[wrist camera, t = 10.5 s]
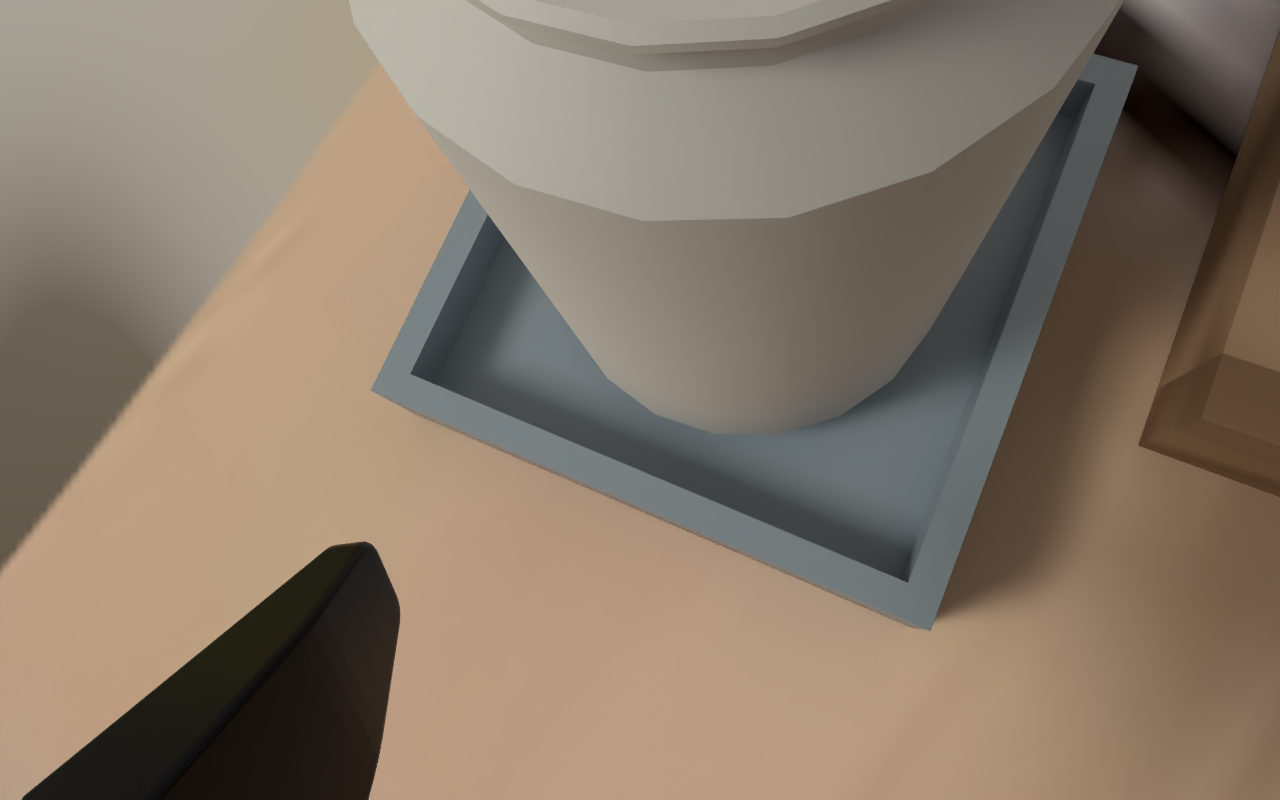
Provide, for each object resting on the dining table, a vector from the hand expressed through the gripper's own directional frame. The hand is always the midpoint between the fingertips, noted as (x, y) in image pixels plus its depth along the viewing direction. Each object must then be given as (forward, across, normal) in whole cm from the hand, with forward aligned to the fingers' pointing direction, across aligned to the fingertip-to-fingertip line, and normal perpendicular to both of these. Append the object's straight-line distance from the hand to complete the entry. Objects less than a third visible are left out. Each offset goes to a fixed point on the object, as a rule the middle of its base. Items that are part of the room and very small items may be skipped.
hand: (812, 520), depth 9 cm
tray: (+11, 0, +2) cm, 11 cm away
